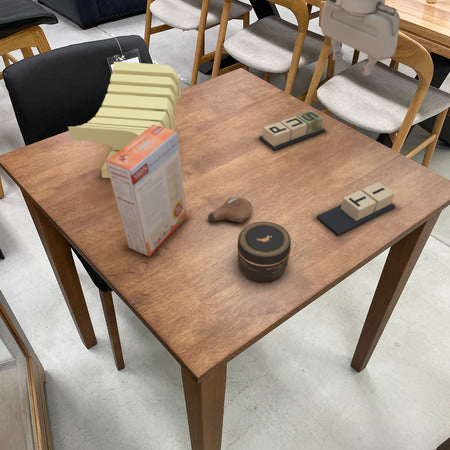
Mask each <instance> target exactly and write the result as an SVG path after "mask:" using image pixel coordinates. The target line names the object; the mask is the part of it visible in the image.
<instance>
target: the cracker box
mask: <svg viewBox="0 0 450 450" xmlns="http://www.w3.org/2000/svg"><path fill="white" fill-rule="evenodd" d="M105 162H106V165H107V169H108V173H109V176H110V178H109V180H110V184H111V187H112V191H113V195H114V198H115V202H116V206H117V209H118V210H117V211H118V214H119V217H120V221H121V226H122V229H123V232H124V237H125V240H126V245H127V247H128V249H130V250H133V251H135V252H137V253H139V254H142V255H144V256H146V257H148V258H149V257H151V256H152V255H153V254H154V253H155V252H156V251H157V250H158V249H159V248H160V246H162V245H163V244H164V242H165V241H166V240H168V238H170V237H171V235H172V234H173V233H174V232H175V231H176V230H177V229H178V228H179V227H180V226H181V225H182V224H183V223H184V222H185V221H186V220H187V218H188V216H187V208H186V198H185V189H184V180H183V172H182V162H181V155H180V145H179V136H178V131H177V130H175V131H174V130H170V129H167V128H164V127H160V126H157V125H154V124H153V125H152V126H150V127H149V128H148V129H147V130H145V131H144V132H143V133H141V134H140V135H139V136H138V137H136V138H135V139H134V140H132V141H131V142H130V143H129V144H127V145H126V146H125V147H123V148H122V149H121V150H119V151H118V152H117V153H115V154H114V155H113V156H112V157H110V158H109V159H108V160H106V159H105Z"/></svg>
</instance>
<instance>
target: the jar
mask: <svg viewBox="0 0 450 450" xmlns="http://www.w3.org/2000/svg"><path fill="white" fill-rule="evenodd" d="M291 245H292V240H291V235H290V233H289V231H288V230H287V229H285V227H283V226H281V225H280V224H278V223H275V222H271V221H255V222H252V223H250V224H246V226H244V227H243V228H242V229H241V230H240V232H239V234H238V238H237V246H236V247H237V263H238V267H239V270H240V271H241V273H242V274H243V275H244V276H245V277H246V278H247V279H249V280H251V281H254V282H257V283H269V282H272V281H275V280H277V279H279V278H280V277H281V276H282V275H283V274H284V273H285V271H286V269H287V267H288V264H289V258H290V254H291V249H292V248H291V247H292V246H291Z"/></svg>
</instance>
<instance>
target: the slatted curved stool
mask: <svg viewBox="0 0 450 450" xmlns="http://www.w3.org/2000/svg"><path fill="white" fill-rule="evenodd" d="M110 75H111V76H110V79H109V84H108V87H107V90H106V91H107V93H106V94H105V95H104V96H105V97H104V99H103V101H102V103H101V106H100V107H99V109H98V111H97V112H96V114H95V115H94V117H92V118H91V119H90V120H88V121H87V123H86V122H85V123H83V124H81V125H75V126H67V129H68V131H69V135H70V138H71V141H72V140H73V141H81V142H89V143H90V142H91V143H95V144H101V145H104V146H105V145H106V146H110V147H112V149H111V150H110V152H109V154H108V156H107V157H106V159H105V161H104V163H103V165H102V166H101V178H105V179H110V176H109V173H108V169H107V165H106V160H108V159H109V158H110V157H112V156H113V155H114V154H115V153H117V152H118V151H119V150H121V149H122V148H123V147H125V146H126V145H127V144H129V143H130V142H131V141H132V140H134V139H135V138H136V137H138V136H139V135H140V134H141V133H143V132H144V131H145V130H147V129H148V128H149V127H150V126H152V125H153V124H154V125H157V126H160V127H164V128H167V129H170V130H174V131H176V127H175V126H176V121H175V120H176V119H175V115H176V111H177V104H178V103H179V100H180V99H181V98H182V91H181V90H182V88H181V80H180V76H179V74H178V72H177V71H176V70H175V69H174V68H173V67H171V66H170V65H167V64H159V63H158V64H157V63H141V62H140V63H139V62H127V61H124V62H123V61H113V64H112V73H111V74H110Z"/></svg>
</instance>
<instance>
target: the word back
mask: <svg viewBox="0 0 450 450" xmlns="http://www.w3.org/2000/svg"><path fill="white" fill-rule="evenodd" d="M306 130H307V124H306V123H305V122H303V121H302V120H300V119H299V118H297V115H295V116H292V117H289V118H286V119H284V120H281V121H278V122H275V123H272V124H269V125H266V126H264V127H263V130H262V135H260V136H258V139H259V140H260V141H261V142H262V143H263V144H265V145H266V146H267V147H269V148H270V149H271V150H272V151H274V152H276V151H279V150H281V149H284V148H287V147H289V146H292V145H294V144H295V145H296V144H297V143H299V142H302V141H306V140H308V139H310V138H313V137H315V136H318V135H321V134H324V133H326V129H325V128H323V127H322V128H321V129H319V130H316V131H314V132H311V133H308V134H307V133H306Z"/></svg>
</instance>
